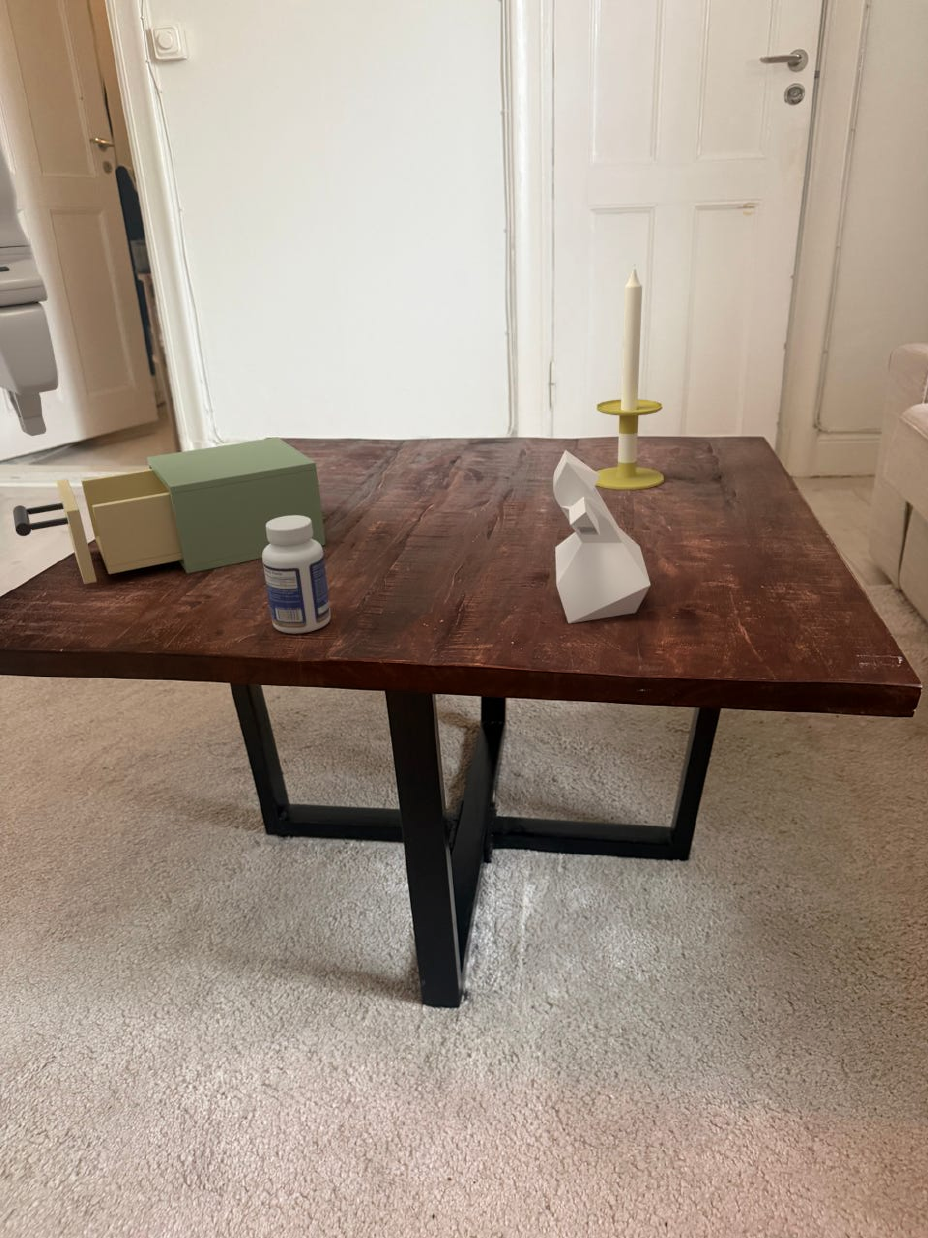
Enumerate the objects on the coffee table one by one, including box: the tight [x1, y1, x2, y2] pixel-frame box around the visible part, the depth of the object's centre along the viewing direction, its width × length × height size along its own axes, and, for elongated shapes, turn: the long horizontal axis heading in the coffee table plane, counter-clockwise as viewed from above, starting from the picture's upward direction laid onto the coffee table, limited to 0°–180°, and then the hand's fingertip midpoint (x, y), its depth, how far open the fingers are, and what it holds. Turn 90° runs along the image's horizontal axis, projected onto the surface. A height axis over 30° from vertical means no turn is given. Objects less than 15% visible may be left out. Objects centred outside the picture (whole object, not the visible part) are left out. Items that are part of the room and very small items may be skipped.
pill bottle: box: [261, 515, 332, 635], centre depth 77 cm, size 5×5×10 cm
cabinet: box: [146, 437, 326, 574], centre depth 99 cm, size 16×15×10 cm
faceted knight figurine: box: [552, 449, 651, 624], centre depth 79 cm, size 8×14×14 cm, turn 175°
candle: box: [595, 263, 665, 491], centre depth 111 cm, size 10×10×27 cm
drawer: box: [12, 468, 183, 585], centre depth 94 cm, size 19×13×8 cm
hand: (35, 433), depth 86 cm, fingers closed
